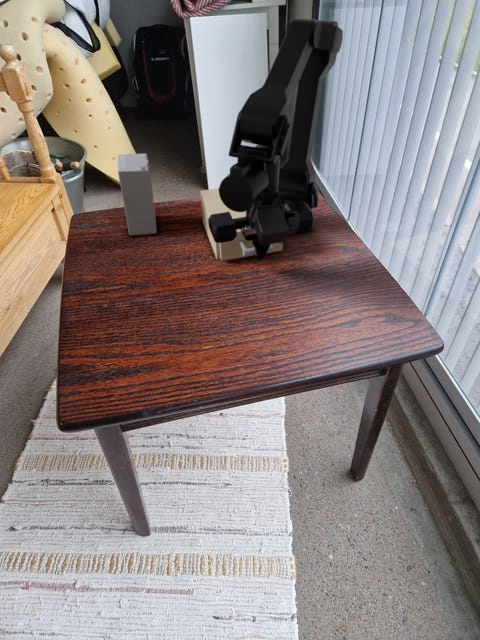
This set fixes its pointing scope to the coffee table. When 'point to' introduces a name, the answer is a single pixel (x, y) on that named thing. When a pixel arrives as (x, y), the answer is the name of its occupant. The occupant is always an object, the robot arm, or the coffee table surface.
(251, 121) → the robot arm
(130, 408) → the coffee table surface
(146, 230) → the cosmetic box
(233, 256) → the drawer
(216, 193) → the cabinet
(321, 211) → the coffee table surface
